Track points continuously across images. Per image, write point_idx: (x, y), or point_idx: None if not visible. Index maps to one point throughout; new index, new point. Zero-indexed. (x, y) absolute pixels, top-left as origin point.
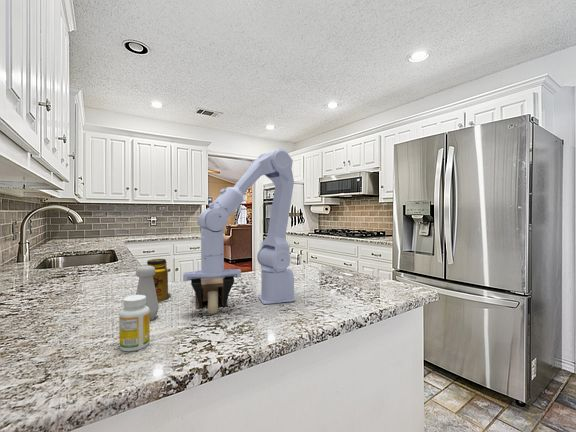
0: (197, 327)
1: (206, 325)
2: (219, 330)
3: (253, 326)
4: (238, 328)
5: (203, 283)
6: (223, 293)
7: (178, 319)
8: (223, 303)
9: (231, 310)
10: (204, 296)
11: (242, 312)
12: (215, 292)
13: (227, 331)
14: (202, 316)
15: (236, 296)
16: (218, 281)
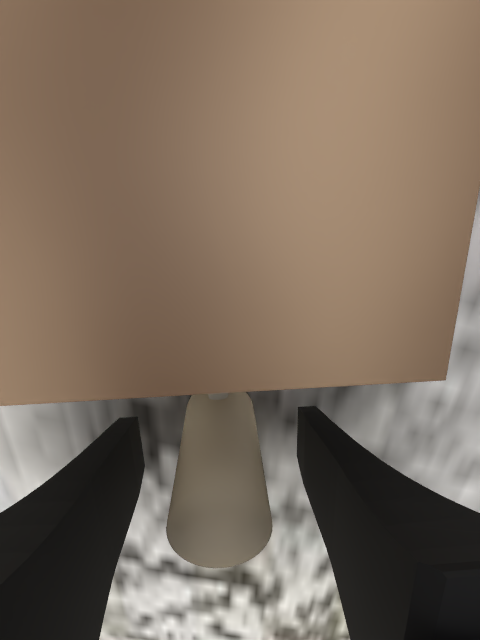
0: (144, 579)
1: (186, 567)
2: (244, 618)
3: None
4: (326, 614)
5: (65, 338)
6: (327, 462)
7: (16, 473)
8: (300, 451)
9: (341, 402)
10: None
11: (396, 449)
12: (247, 529)
13: (276, 629)
14: (156, 458)
15: None
16: (330, 260)
